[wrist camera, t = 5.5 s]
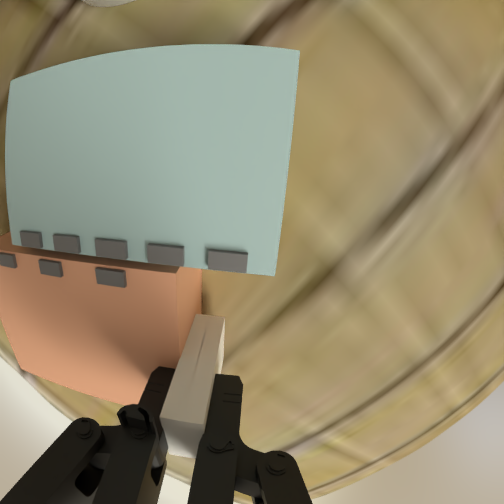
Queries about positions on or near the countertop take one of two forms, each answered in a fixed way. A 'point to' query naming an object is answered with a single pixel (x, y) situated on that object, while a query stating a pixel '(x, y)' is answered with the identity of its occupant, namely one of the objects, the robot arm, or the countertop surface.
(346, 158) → the countertop surface
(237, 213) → the pale teal block
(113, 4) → the cup
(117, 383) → the stub
